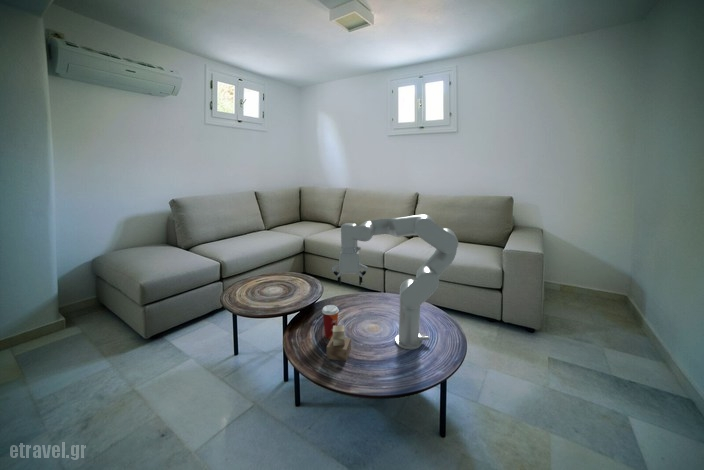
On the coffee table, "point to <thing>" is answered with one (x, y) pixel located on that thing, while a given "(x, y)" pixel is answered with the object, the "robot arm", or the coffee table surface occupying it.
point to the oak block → (338, 335)
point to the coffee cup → (330, 319)
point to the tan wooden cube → (338, 350)
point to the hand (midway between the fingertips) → (350, 284)
